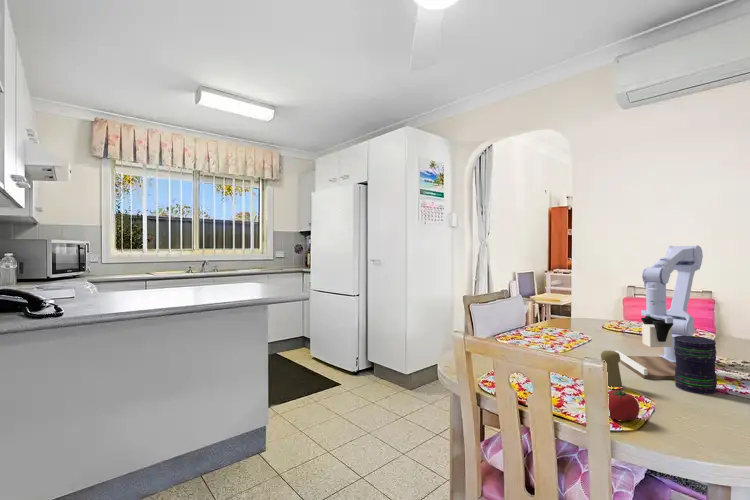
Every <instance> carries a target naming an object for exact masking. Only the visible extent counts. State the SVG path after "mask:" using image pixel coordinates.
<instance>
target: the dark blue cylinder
mask: <svg viewBox="0 0 750 500" xmlns="http://www.w3.org/2000/svg"><path fill="white" fill-rule="evenodd" d="M674 340H675V342H674V350H675V352H674V353H675V356H676V363H675V364H676V367H675V382H674V383H675V387H676V388H677V389H679V390H682V391H683V392H686V393H687V392H688V393H692V394H697V395H704V396H706V395H707V396H708V395H709V396H711V395H715V394H717V391H718V389H717V384H718V380H717V372H716V361H717V347H716V345H717V344H716V342H717V341H716V340H714V339H711V338H707V337H703V336H702V337H701V336H697V335H696V336H694V335H693V336H676V337H674Z"/></svg>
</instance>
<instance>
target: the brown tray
mask: <svg viewBox="0 0 750 500" xmlns="http://www.w3.org/2000/svg"><path fill="white" fill-rule="evenodd" d="M614 351H615V352H617V353H619V355H620V361H619V363H620V364H622V365H623V366H625V367H626V368H628V369H629V370H630V371H632V372H634V373H635V374H637V375H638V376H639V377H641V378H643V379H644V380H645V379H646V380H670V381H671V380H675V367H676V363H673V362H671V361H669V360H667V359H665V358H663V357H659V356H653V355H652V356H648V355H647V356H645V355H639V356H638V355H625V354H624V353H622V352H621V351H619V350H614Z"/></svg>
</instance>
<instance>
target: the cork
mask: <svg viewBox="0 0 750 500" xmlns="http://www.w3.org/2000/svg"><path fill="white" fill-rule="evenodd" d="M615 351H616V350H603V351H602V352H600V353H601V354H600V359H601V361H603V360H605V361H606V363H607V372H608V386H609V387H611V386H612V387H623V382H622V377H621V371H620V370H621V369H620V366H619V363H620V362H619V361H620V355H619V353H617V352H615Z"/></svg>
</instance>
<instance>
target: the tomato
mask: <svg viewBox="0 0 750 500" xmlns="http://www.w3.org/2000/svg"><path fill="white" fill-rule="evenodd" d="M608 394H609V410H610V417H609V418H610V419H612V420H614V419H616V420H615V421H617V420H622V421H621V422H624V421H623V420H632V421H634V420H636V419H637V418H638V416H639V414H640V410H641V409H640V404H639V402H638V401H637V399H636V397H635V396H633V394H632V395H631V394H629V393H626V392H623V391H622V390H609V391H608Z"/></svg>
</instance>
